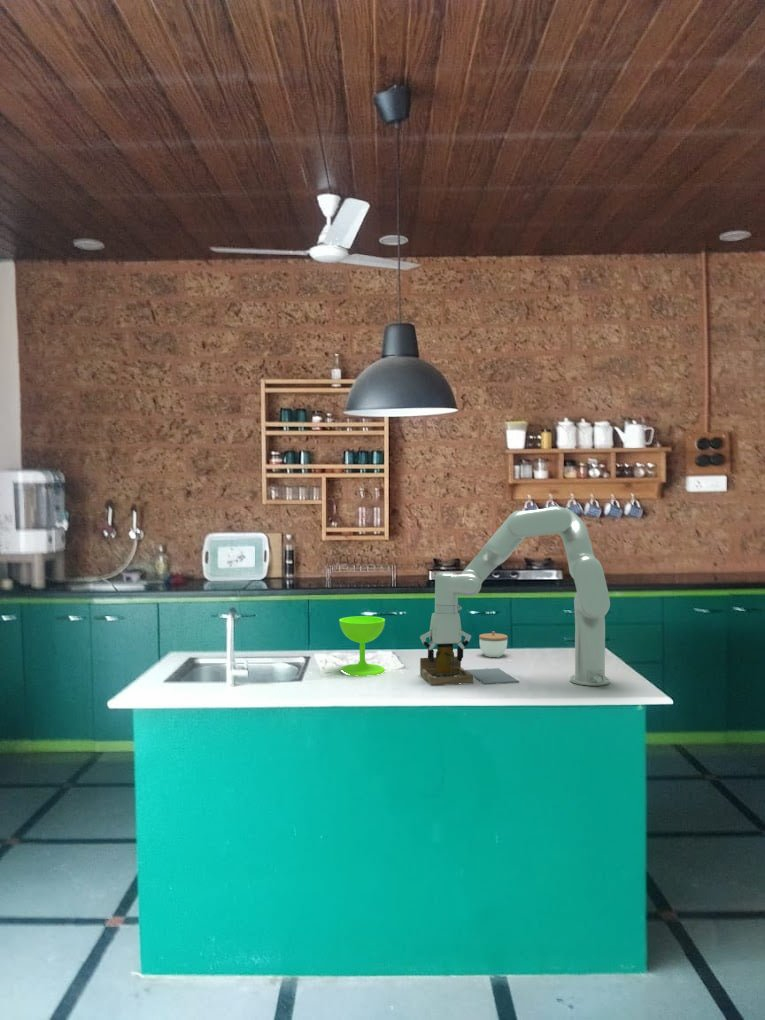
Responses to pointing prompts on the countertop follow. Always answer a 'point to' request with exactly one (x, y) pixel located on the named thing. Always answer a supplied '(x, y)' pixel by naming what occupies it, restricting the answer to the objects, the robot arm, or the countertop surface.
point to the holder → (430, 670)
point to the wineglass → (362, 641)
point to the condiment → (444, 660)
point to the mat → (492, 676)
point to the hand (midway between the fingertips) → (445, 660)
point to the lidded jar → (493, 644)
